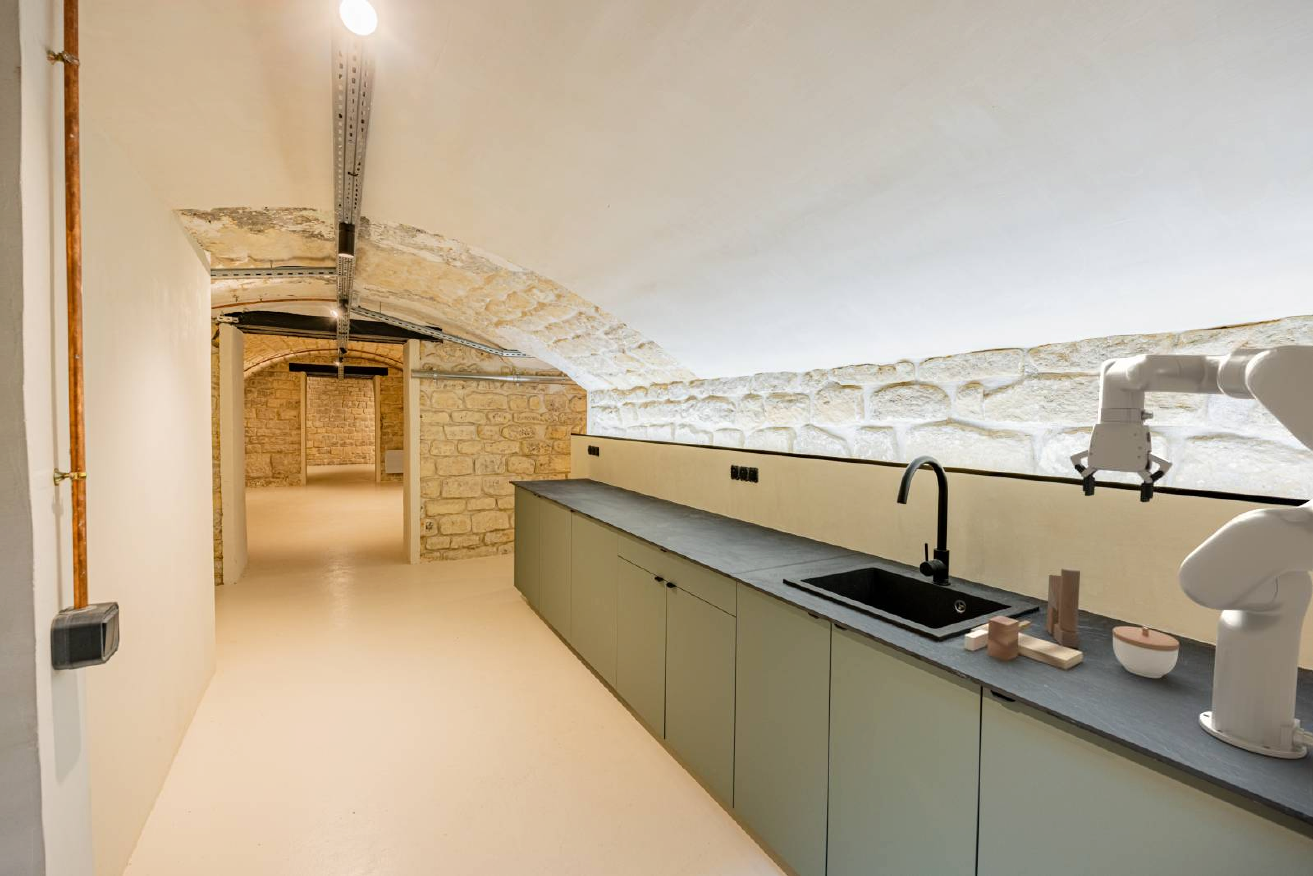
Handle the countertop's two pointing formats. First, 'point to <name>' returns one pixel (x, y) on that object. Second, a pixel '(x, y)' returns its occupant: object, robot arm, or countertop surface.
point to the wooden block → (1064, 607)
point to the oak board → (1044, 650)
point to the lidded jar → (1145, 651)
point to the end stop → (976, 640)
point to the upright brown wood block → (1004, 637)
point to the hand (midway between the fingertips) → (1116, 498)
